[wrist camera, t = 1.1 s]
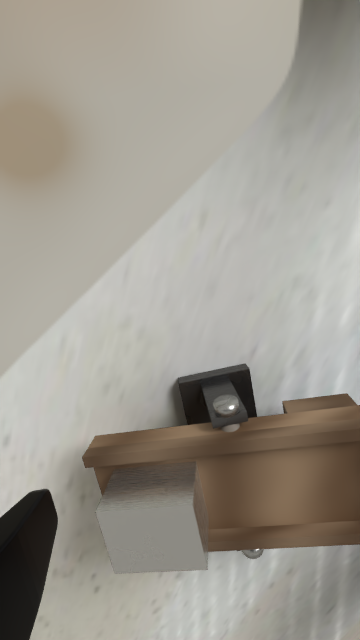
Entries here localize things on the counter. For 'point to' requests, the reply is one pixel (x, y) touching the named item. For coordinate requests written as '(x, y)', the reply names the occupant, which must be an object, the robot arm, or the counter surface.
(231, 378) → the pivot stand
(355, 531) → the beam
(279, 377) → the counter surface
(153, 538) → the steel block
